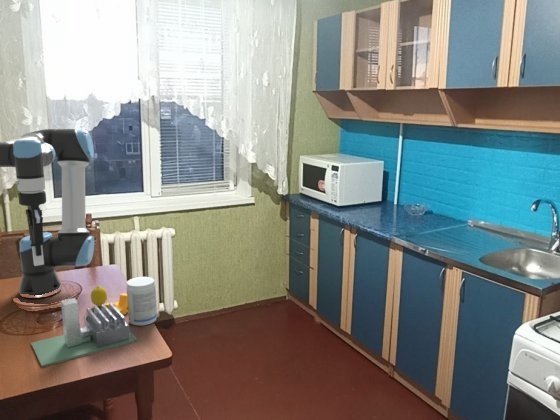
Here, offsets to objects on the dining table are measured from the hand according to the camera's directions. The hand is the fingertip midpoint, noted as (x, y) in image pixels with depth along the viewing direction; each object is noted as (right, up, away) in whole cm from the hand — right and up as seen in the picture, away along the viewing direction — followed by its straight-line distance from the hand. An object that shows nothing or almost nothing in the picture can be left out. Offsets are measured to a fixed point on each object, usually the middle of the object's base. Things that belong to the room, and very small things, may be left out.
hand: (38, 264), depth 154 cm
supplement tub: (+28, -22, +17) cm, 39 cm away
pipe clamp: (+18, -21, +20) cm, 33 cm away
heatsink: (+18, -24, +4) cm, 30 cm away
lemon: (+9, -19, +28) cm, 35 cm away
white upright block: (+12, -24, 0) cm, 27 cm away
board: (+14, -25, +1) cm, 29 cm away
